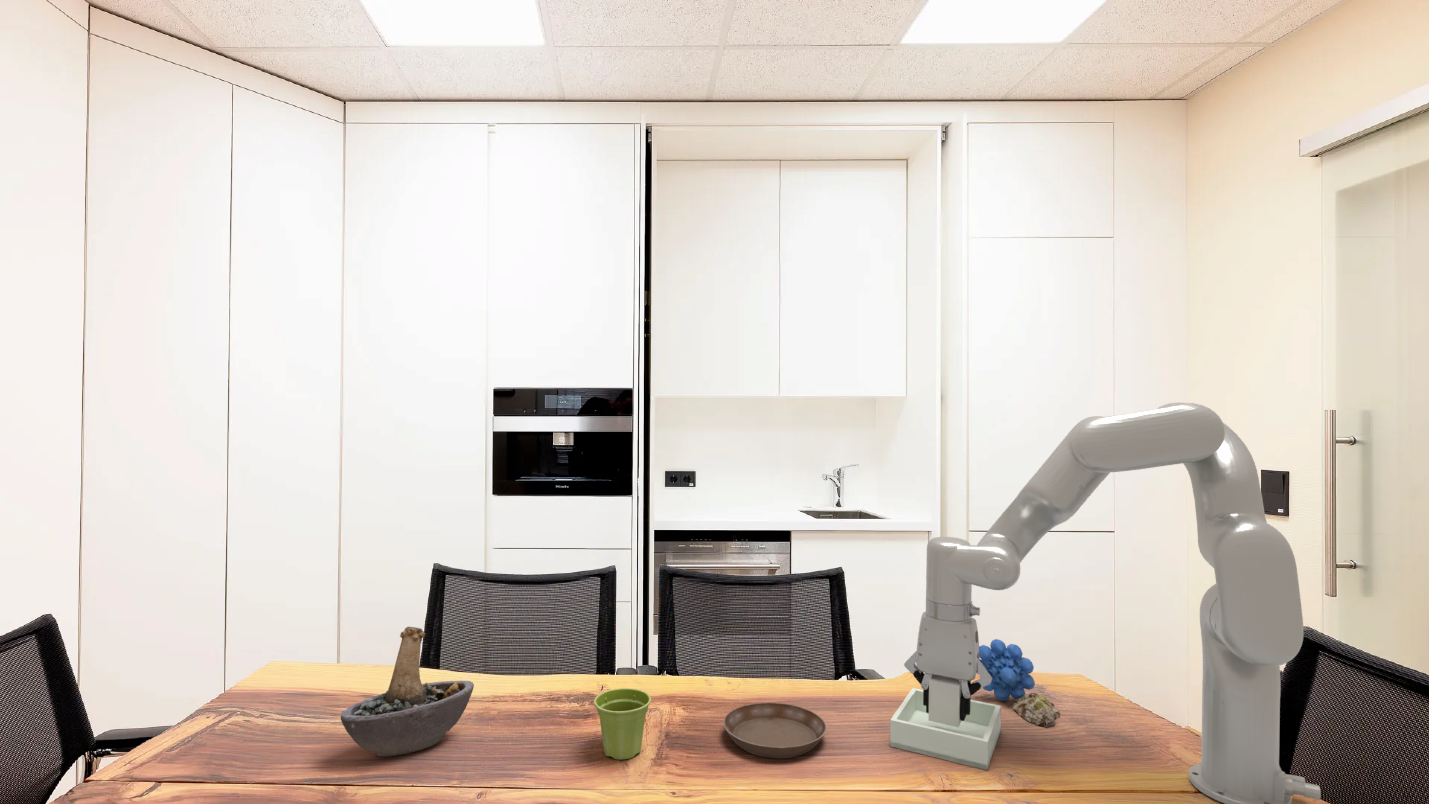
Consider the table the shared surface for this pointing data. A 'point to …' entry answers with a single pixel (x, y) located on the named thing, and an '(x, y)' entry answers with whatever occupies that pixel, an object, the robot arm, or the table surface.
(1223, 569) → the robot arm
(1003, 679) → the blue knobby lump
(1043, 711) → the mineral rock
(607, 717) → the plant pot
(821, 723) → the plant saucer
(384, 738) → the planter
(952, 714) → the stone block
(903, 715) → the sage bin
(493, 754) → the table surface
